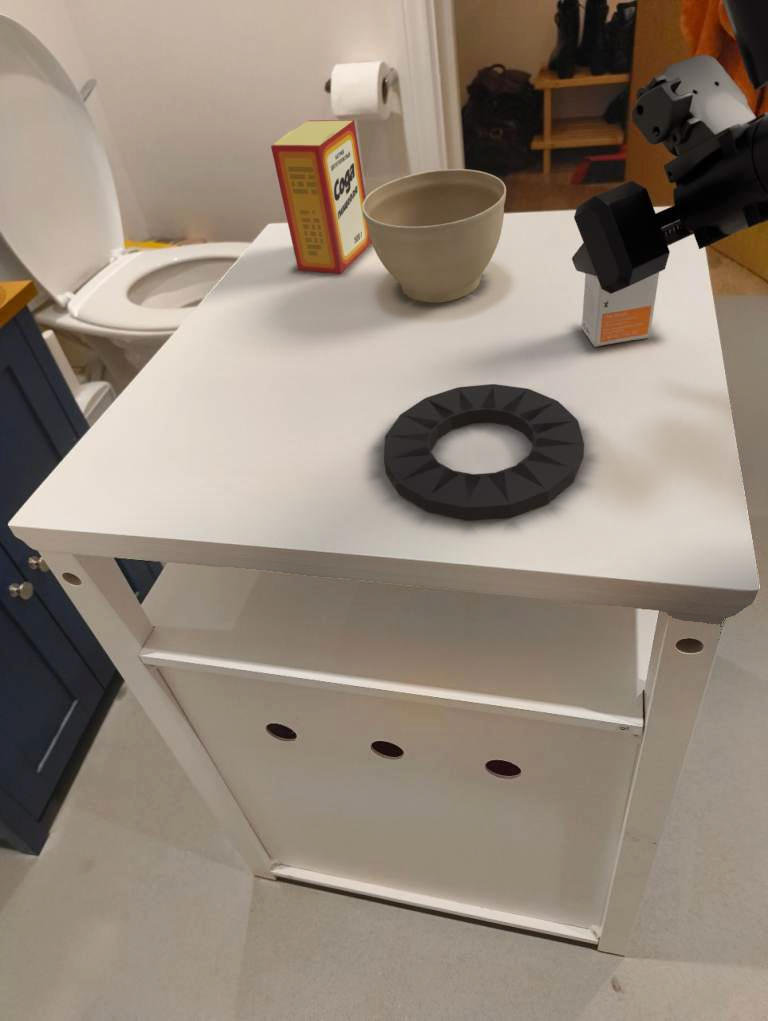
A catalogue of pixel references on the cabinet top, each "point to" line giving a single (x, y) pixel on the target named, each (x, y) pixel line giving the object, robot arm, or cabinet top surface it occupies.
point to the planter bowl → (436, 230)
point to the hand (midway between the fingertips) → (618, 244)
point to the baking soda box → (323, 194)
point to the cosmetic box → (618, 311)
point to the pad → (488, 492)
